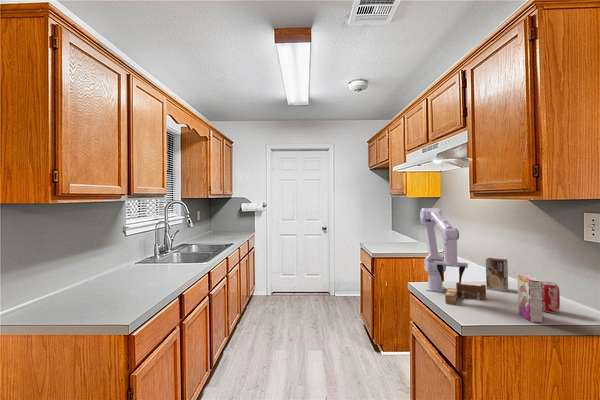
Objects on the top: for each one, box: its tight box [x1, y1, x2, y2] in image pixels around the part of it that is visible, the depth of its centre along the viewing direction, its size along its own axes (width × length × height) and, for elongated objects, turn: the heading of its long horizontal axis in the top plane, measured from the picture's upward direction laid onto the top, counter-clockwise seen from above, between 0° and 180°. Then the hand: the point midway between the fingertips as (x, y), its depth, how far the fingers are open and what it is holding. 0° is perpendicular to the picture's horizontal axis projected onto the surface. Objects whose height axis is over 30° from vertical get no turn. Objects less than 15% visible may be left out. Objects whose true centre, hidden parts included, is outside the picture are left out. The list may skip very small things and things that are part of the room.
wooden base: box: [455, 282, 487, 301], centre depth 169 cm, size 5×13×6 cm, turn 61°
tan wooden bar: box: [444, 287, 458, 305], centre depth 167 cm, size 14×4×4 cm, turn 151°
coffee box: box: [485, 257, 509, 293], centre depth 184 cm, size 9×6×16 cm
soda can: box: [542, 281, 561, 314], centre depth 148 cm, size 7×7×12 cm
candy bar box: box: [517, 274, 544, 324], centre depth 140 cm, size 11×5×16 cm, turn 168°
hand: (451, 281), depth 167 cm, fingers open, 7 cm apart
